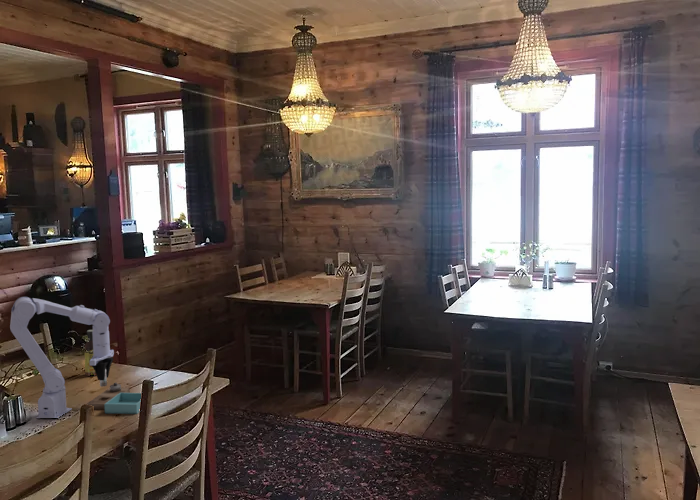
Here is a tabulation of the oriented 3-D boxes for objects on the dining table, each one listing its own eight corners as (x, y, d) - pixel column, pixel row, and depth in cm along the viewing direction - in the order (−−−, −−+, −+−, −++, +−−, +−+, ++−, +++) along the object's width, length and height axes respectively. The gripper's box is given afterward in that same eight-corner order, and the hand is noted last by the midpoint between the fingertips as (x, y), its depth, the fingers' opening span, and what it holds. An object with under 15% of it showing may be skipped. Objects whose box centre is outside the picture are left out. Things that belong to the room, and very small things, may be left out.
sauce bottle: (90, 377, 248) (88, 332, 246) (82, 375, 251) (79, 331, 249) (104, 373, 253) (101, 329, 251) (95, 371, 256) (93, 328, 255)
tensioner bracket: (107, 409, 210) (106, 396, 210) (86, 408, 211) (86, 395, 211) (129, 392, 228) (129, 380, 228) (110, 392, 229) (109, 380, 228)
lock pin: (105, 386, 214) (104, 368, 213) (98, 386, 214) (97, 368, 213) (108, 384, 216) (107, 366, 215) (102, 384, 216) (101, 366, 216)
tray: (136, 413, 206) (136, 404, 205) (104, 413, 206) (104, 404, 206) (150, 401, 217) (150, 393, 217) (120, 401, 218) (120, 392, 218)
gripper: (102, 348, 206) (103, 385, 207) (120, 338, 220) (122, 372, 222) (83, 348, 206) (85, 384, 208) (103, 338, 221) (104, 372, 222)
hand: (103, 378), depth 215 cm, fingers closed on lock pin, 2 cm apart
